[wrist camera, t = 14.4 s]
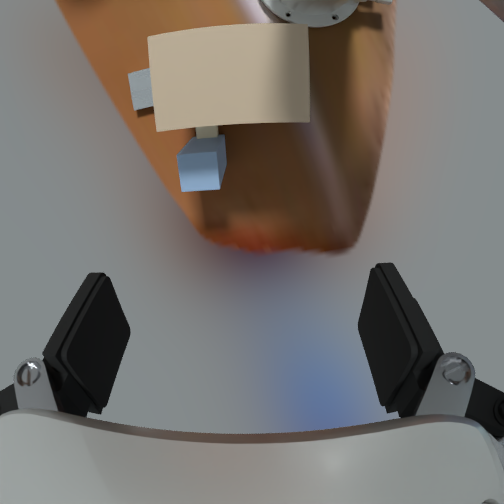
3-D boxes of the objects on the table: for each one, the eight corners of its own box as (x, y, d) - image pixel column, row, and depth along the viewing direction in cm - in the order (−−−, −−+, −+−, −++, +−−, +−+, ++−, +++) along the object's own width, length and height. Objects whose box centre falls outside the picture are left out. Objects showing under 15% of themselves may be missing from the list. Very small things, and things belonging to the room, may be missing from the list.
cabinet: (287, 42, 29) (307, 24, 18) (289, 105, 34) (310, 122, 22) (185, 49, 30) (147, 36, 18) (190, 110, 34) (156, 131, 22)
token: (169, 64, 31) (165, 64, 30) (174, 101, 34) (171, 102, 33) (132, 73, 31) (128, 73, 30) (138, 108, 34) (134, 110, 33)
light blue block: (219, 61, 31) (209, 56, 23) (226, 164, 38) (219, 189, 31) (186, 65, 31) (166, 62, 23) (196, 166, 38) (181, 191, 31)
